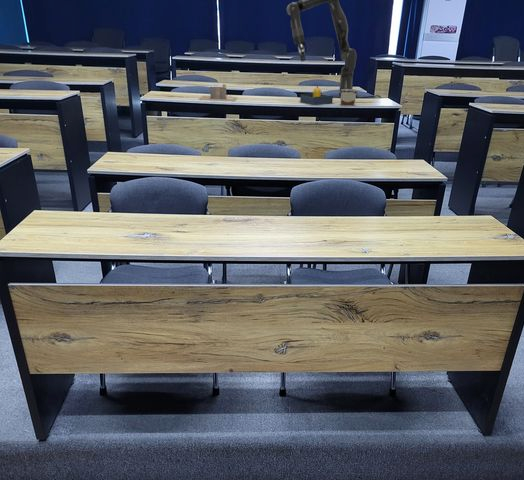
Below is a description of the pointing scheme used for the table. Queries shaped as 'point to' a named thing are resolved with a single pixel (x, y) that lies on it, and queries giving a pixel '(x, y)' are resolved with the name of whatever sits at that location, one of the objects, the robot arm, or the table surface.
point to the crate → (316, 99)
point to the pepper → (317, 92)
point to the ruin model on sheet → (218, 94)
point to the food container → (348, 97)
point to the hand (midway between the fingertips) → (303, 60)
